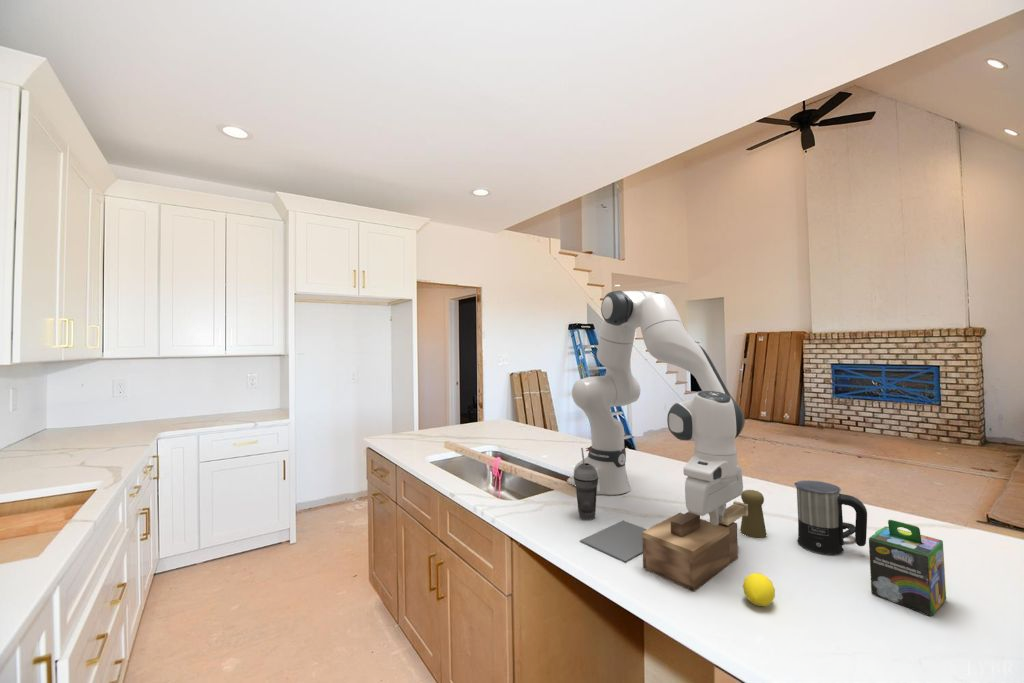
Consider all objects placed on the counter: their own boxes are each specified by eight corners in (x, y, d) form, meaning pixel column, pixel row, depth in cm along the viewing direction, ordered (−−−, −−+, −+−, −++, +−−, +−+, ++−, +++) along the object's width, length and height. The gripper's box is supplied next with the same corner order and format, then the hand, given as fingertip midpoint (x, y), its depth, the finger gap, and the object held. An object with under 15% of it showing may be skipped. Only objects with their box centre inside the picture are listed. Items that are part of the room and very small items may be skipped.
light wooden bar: (715, 523, 100) (715, 512, 100) (735, 511, 106) (735, 501, 106) (729, 527, 98) (728, 515, 98) (748, 515, 104) (747, 504, 104)
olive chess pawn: (770, 539, 109) (769, 496, 109) (744, 537, 110) (743, 494, 110) (761, 528, 115) (760, 487, 115) (737, 527, 116) (736, 486, 116)
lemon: (772, 618, 79) (771, 591, 79) (740, 607, 83) (738, 581, 82) (778, 595, 85) (777, 570, 84) (747, 586, 88) (746, 561, 87)
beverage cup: (589, 524, 120) (587, 453, 120) (569, 517, 126) (567, 448, 126) (604, 517, 125) (603, 448, 125) (585, 510, 130) (583, 444, 130)
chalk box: (947, 600, 82) (945, 523, 82) (932, 618, 77) (930, 536, 77) (885, 578, 90) (884, 508, 90) (868, 593, 85) (867, 519, 85)
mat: (580, 541, 110) (580, 540, 110) (623, 521, 121) (623, 520, 121) (625, 562, 99) (625, 561, 99) (668, 538, 111) (668, 537, 110)
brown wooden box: (643, 568, 97) (642, 531, 97) (689, 540, 109) (688, 508, 109) (694, 591, 87) (693, 551, 87) (737, 558, 100) (737, 523, 100)
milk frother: (802, 552, 102) (800, 490, 102) (785, 525, 117) (784, 470, 117) (875, 562, 97) (874, 496, 97) (849, 532, 112) (847, 475, 112)
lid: (642, 541, 97) (641, 519, 97) (680, 521, 107) (679, 501, 107) (693, 562, 87) (692, 537, 87) (729, 537, 97) (728, 515, 97)
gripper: (723, 452, 107) (724, 507, 107) (679, 469, 94) (680, 531, 95) (749, 457, 102) (751, 515, 102) (707, 476, 89) (708, 542, 90)
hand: (716, 523), depth 98 cm, fingers closed
